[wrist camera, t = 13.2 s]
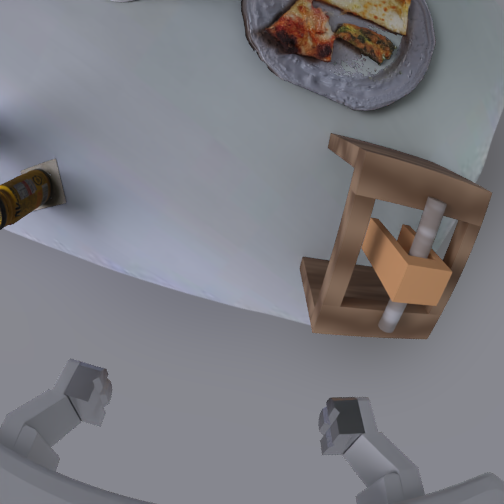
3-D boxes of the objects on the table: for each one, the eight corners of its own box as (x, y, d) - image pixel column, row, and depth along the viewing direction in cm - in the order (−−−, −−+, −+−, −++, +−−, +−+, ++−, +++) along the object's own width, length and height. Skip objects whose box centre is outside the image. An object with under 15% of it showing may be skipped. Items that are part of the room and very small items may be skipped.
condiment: (21, 170, 39) (-28, 195, 28) (56, 158, 38) (5, 181, 27) (32, 210, 42) (-12, 242, 31) (67, 202, 41) (21, 234, 31)
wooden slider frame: (330, 133, 36) (374, 155, 22) (433, 162, 37) (502, 199, 23) (299, 268, 46) (314, 345, 31) (393, 281, 46) (432, 349, 32)
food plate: (216, 60, 32) (213, 56, 29) (278, -72, 22) (280, -84, 19) (394, 133, 36) (406, 136, 33) (439, 5, 26) (452, 1, 23)
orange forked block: (370, 217, 34) (407, 264, 24) (409, 225, 34) (452, 271, 25) (361, 247, 36) (392, 301, 26) (399, 254, 36) (436, 305, 26)
